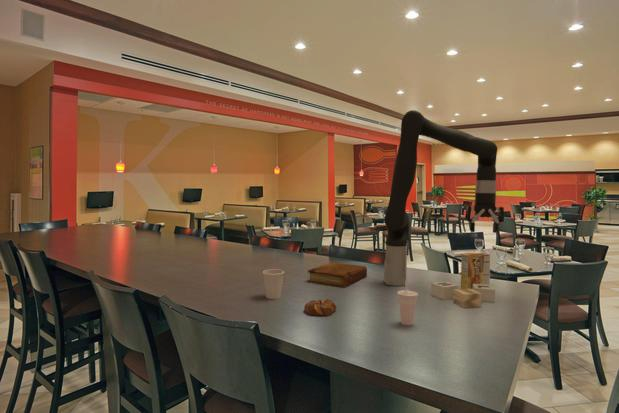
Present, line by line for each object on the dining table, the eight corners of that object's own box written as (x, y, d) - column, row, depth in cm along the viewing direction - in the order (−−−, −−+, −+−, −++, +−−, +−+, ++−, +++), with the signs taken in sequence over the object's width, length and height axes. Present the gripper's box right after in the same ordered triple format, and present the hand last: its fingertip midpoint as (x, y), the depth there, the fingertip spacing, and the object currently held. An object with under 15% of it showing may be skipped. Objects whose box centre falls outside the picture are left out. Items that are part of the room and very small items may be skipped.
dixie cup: (267, 301, 143) (267, 274, 142) (259, 295, 150) (259, 270, 149) (287, 298, 146) (287, 272, 146) (279, 292, 154) (279, 268, 153)
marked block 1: (443, 300, 146) (443, 286, 146) (430, 295, 153) (431, 282, 152) (457, 298, 149) (457, 285, 149) (444, 293, 155) (444, 280, 155)
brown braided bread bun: (318, 304, 140) (318, 294, 140) (343, 311, 133) (343, 300, 133) (297, 312, 131) (297, 301, 131) (322, 319, 124) (322, 308, 124)
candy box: (474, 287, 164) (476, 252, 164) (483, 289, 161) (484, 253, 160) (459, 289, 161) (461, 253, 160) (468, 292, 157) (469, 255, 156)
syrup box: (490, 286, 166) (491, 253, 165) (475, 285, 167) (476, 252, 167) (486, 283, 172) (487, 251, 171) (472, 282, 173) (473, 250, 172)
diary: (345, 289, 162) (345, 275, 162) (307, 283, 172) (307, 270, 172) (366, 277, 182) (366, 265, 182) (332, 273, 192) (332, 261, 191)
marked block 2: (474, 301, 145) (474, 287, 145) (472, 296, 152) (472, 283, 152) (494, 302, 143) (495, 289, 143) (491, 297, 150) (492, 284, 150)
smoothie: (394, 319, 124) (394, 277, 123) (413, 319, 124) (414, 276, 124) (400, 327, 117) (401, 282, 117) (420, 326, 118) (421, 281, 117)
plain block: (463, 308, 137) (463, 294, 136) (453, 302, 144) (453, 289, 143) (481, 307, 138) (481, 293, 138) (470, 301, 145) (470, 288, 144)
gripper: (470, 191, 150) (468, 232, 151) (508, 192, 148) (506, 234, 149) (464, 191, 157) (462, 230, 158) (500, 192, 156) (498, 231, 157)
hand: (483, 232), depth 154 cm, fingers open, 8 cm apart
